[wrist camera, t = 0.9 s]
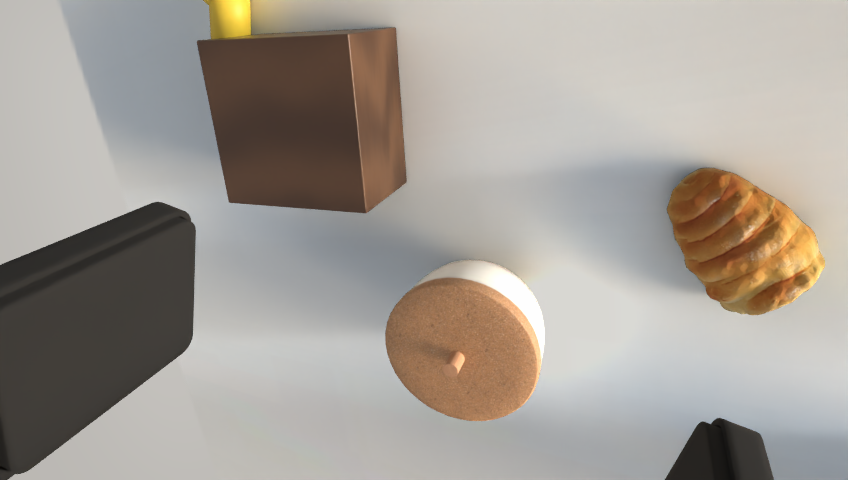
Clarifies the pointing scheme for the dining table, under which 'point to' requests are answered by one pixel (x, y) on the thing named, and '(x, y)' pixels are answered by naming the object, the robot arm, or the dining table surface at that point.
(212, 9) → the banana
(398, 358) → the trinket box
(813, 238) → the pastry
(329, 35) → the block
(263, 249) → the dining table surface
